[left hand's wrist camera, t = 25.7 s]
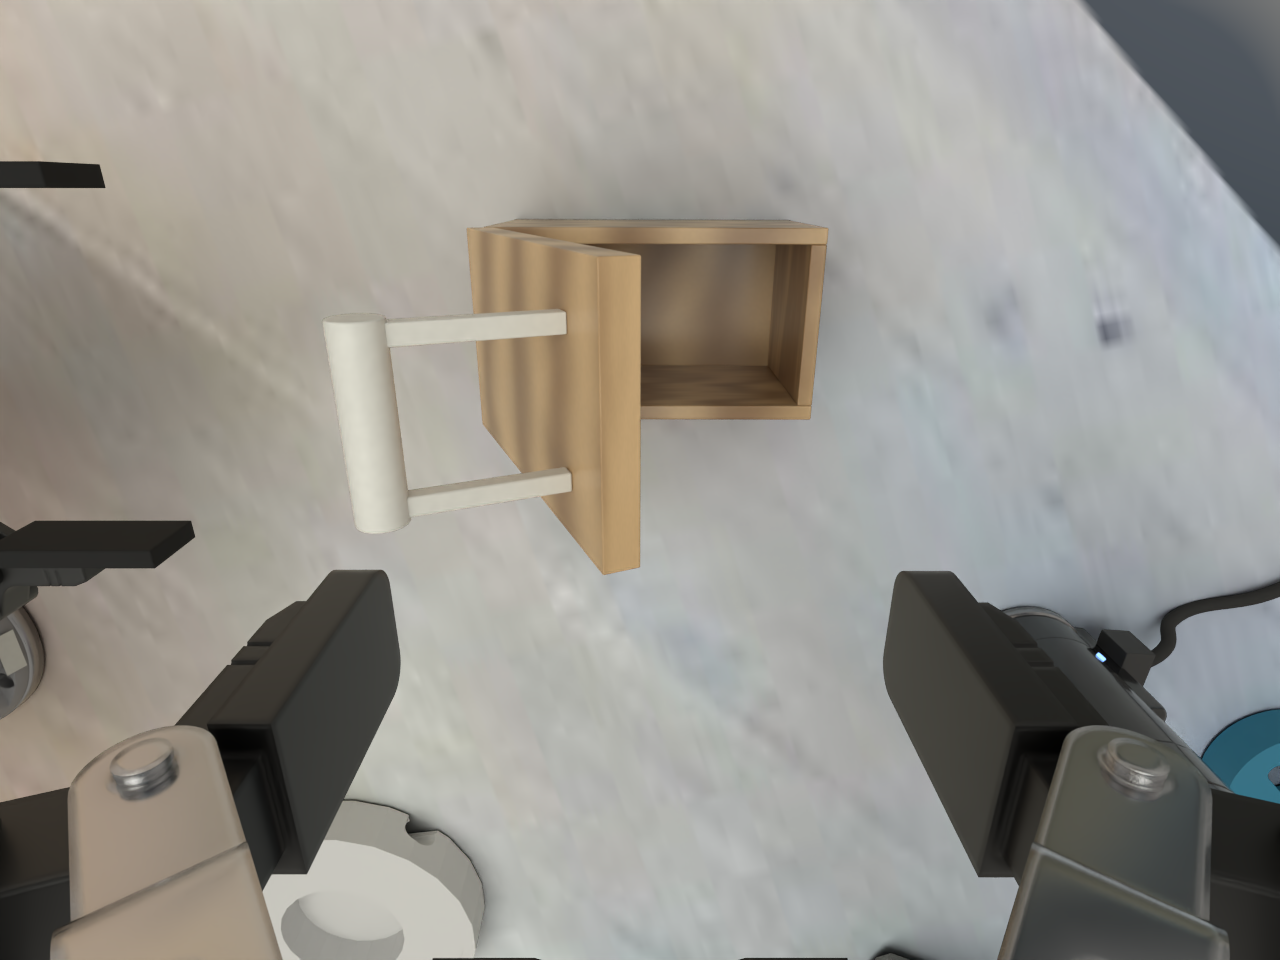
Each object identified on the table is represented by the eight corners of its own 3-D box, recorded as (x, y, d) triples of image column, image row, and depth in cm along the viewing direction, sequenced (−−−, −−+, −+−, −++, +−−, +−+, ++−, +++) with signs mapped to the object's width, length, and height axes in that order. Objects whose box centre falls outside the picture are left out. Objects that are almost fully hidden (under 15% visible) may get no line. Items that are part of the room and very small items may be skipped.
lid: (641, 254, 20) (314, 265, 16) (640, 567, 23) (371, 625, 20) (493, 227, 34) (305, 230, 31) (507, 421, 38) (339, 441, 35)
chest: (787, 219, 44) (828, 227, 35) (776, 374, 48) (810, 420, 38) (516, 219, 44) (482, 226, 35) (525, 373, 48) (497, 419, 38)
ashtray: (508, 968, 69) (501, 1013, 66) (277, 991, 70) (257, 1036, 67) (451, 786, 61) (439, 824, 57) (189, 815, 62) (160, 855, 58)
